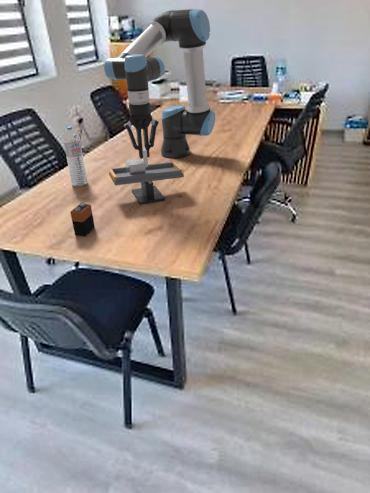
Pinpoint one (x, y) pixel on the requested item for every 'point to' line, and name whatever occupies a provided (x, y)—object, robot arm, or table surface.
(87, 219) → the battery
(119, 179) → the beam
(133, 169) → the rider
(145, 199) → the stand
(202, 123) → the robot arm
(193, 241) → the table surface
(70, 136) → the water bottle
